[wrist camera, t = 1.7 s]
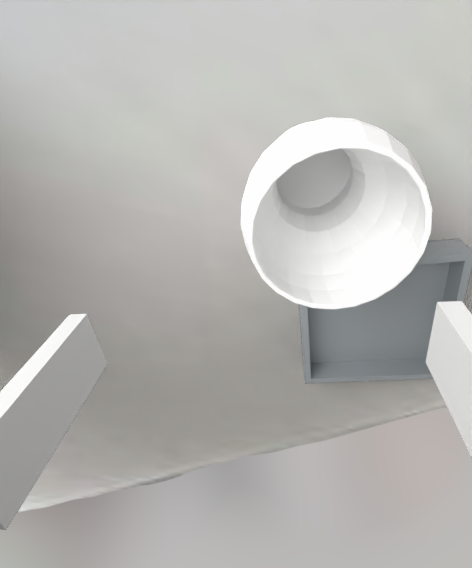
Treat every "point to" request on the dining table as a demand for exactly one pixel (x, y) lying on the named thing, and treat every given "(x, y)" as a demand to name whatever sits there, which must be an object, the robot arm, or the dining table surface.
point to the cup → (335, 213)
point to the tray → (386, 323)
